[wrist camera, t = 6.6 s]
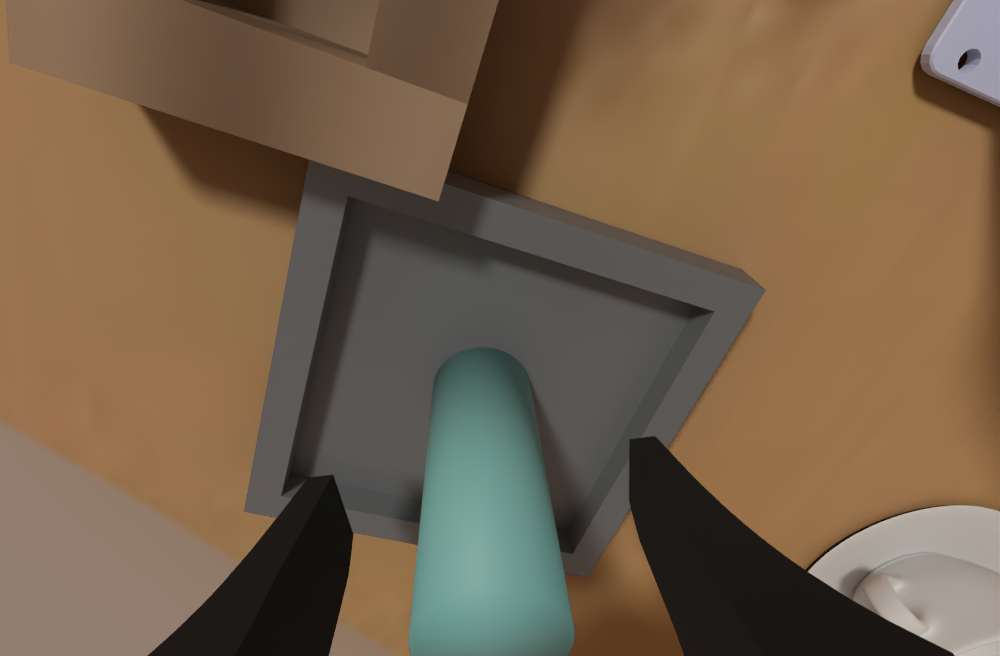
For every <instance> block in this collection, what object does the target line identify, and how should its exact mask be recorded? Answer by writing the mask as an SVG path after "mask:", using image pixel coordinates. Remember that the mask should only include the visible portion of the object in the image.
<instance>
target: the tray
mask: <svg viewBox="0 0 1000 656" xmlns="http://www.w3.org/2000/svg"><path fill="white" fill-rule="evenodd" d="M764 292H765V289H764V288H763V287H762V286H760V285H759V284H758V283H757V282H756V281H755V280H754V279H752V278H751V277H750V276H749V275H748V274H747V273H746V272H744V271H743V270H741V269H738V268H735V267H732V266H729V265H726V264H723V263H720V262H717V261H715V260H712V259H709V258H706V257H703V256H700V255H697V254H694V253H691V252H688V251H685V250H682V249H679V248H676V247H673V246H670V245H667V244H664V243H661V242H658V241H655V240H652V239H649V238H646V237H643V236H640V235H637V234H634V233H631V232H628V231H625V230H622V229H619V228H616V227H613V226H611V225H608V224H605V223H602V222H599V221H596V220H593V219H590V218H587V217H584V216H581V215H578V214H575V213H572V212H569V211H566V210H563V209H560V208H557V207H554V206H551V205H548V204H545V203H542V202H539V201H536V200H533V199H530V198H527V197H524V196H521V195H518V194H515V193H512V192H509V191H506V190H504V189H501V188H498V187H495V186H492V185H489V184H486V183H483V182H480V181H477V180H474V179H471V178H468V177H465V176H462V175H459V174H456V173H453V172H450V171H448V172H447V175H446V179H445V182H444V185H443V189H442V192H441V195H440V199H439V201H436V200H433V199H429V198H426V197H423V196H420V195H417V194H414V193H411V192H408V191H405V190H402V189H399V188H396V187H392V186H389V185H386V184H383V183H380V182H377V181H374V180H371V179H368V178H365V177H362V176H358V175H355V174H352V173H349V172H346V171H343V170H340V169H337V168H334V167H331V166H328V165H324V164H321V163H318V162H315V161H312V160H309V161H308V167H307V172H306V177H305V183H304V188H303V194H302V199H301V205H300V210H299V216H298V221H297V226H296V232H295V237H294V243H293V248H292V254H291V259H290V264H289V270H288V275H287V281H286V286H285V292H284V297H283V303H282V308H281V313H280V319H279V324H278V330H277V335H276V341H275V346H274V351H273V357H272V362H271V368H270V373H269V379H268V384H267V390H266V395H265V400H264V406H263V411H262V417H261V422H260V428H259V433H258V438H257V444H256V449H255V455H254V460H253V466H252V471H251V477H250V482H249V487H248V493H247V498H246V504H245V509H244V512H249V513H254V514H259V515H264V516H269V517H275V518H277V517H278V516H279V514H280V513H281V512H282V511H283V509H284V508H285V507H286V505H287V504H288V503H289V501H290V500H291V499H292V498H293V496H294V495H295V494H296V492H297V491H298V490H299V489H300V487H301V486H302V485H303V483H304V482H305V481H306V480H307V479H308V478H309V477H317V476H325V475H334V478H335V481H336V484H337V487H338V490H339V493H340V496H341V499H342V502H343V505H344V508H345V511H346V514H347V517H348V519H349V522H350V525H351V528H352V531H353V533H358V534H363V535H369V536H374V537H379V538H384V539H389V540H395V541H400V542H405V543H410V544H416V545H418V538H419V528H420V517H421V507H422V496H423V486H424V475H425V465H426V454H427V444H428V433H429V423H430V413H431V402H432V392H433V383H434V379H435V376H436V373H437V371H438V370H439V368H440V367H441V366H442V364H443V363H444V362H445V361H446V360H448V359H449V358H450V357H452V356H453V355H455V354H457V353H459V352H461V351H464V350H467V349H472V348H479V347H486V348H494V349H498V350H501V351H504V352H506V353H508V354H510V355H512V356H513V357H514V358H516V359H517V360H518V361H519V362H520V363H521V364H522V365H523V366H524V368H525V370H526V371H527V374H528V376H529V380H530V385H531V391H532V396H533V402H534V408H535V413H536V419H537V424H538V430H539V435H540V441H541V447H542V452H543V458H544V463H545V469H546V474H547V480H548V486H549V491H550V497H551V502H552V508H553V513H554V519H555V525H556V530H557V536H558V541H559V547H560V552H561V558H562V564H563V569H564V573H567V574H572V575H577V576H582V577H588V575H589V574H590V572H591V570H592V569H593V567H594V566H595V564H596V562H597V561H598V559H599V558H600V556H601V554H602V553H603V551H604V549H605V548H606V546H607V545H608V543H609V541H610V540H611V538H612V537H613V535H614V533H615V532H616V530H617V529H618V527H619V525H620V524H621V522H622V521H623V519H624V517H625V516H626V514H627V512H628V511H629V509H630V508H631V506H630V502H629V439H635V438H643V437H651V436H655V437H656V438H658V439H659V440H660V441H661V442H662V443H663V445H664V446H665V447H666V448H668V446H669V445H670V443H671V442H672V440H673V438H674V437H675V435H676V434H677V432H678V430H679V429H680V427H681V426H682V424H683V422H684V421H685V419H686V418H687V416H688V414H689V413H690V411H691V409H692V408H693V406H694V405H695V403H696V401H697V400H698V398H699V397H700V395H701V393H702V392H703V390H704V389H705V387H706V385H707V384H708V382H709V381H710V379H711V377H712V376H713V374H714V372H715V371H716V369H717V368H718V366H719V364H720V363H721V361H722V360H723V358H724V356H725V355H726V353H727V352H728V350H729V348H730V347H731V345H732V344H733V342H734V340H735V339H736V337H737V335H738V334H739V332H740V331H741V329H742V327H743V326H744V324H745V323H746V321H747V319H748V318H749V316H750V315H751V313H752V311H753V310H754V308H755V306H756V305H757V303H758V302H759V300H760V298H761V297H762V295H763V294H764Z"/></svg>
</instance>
